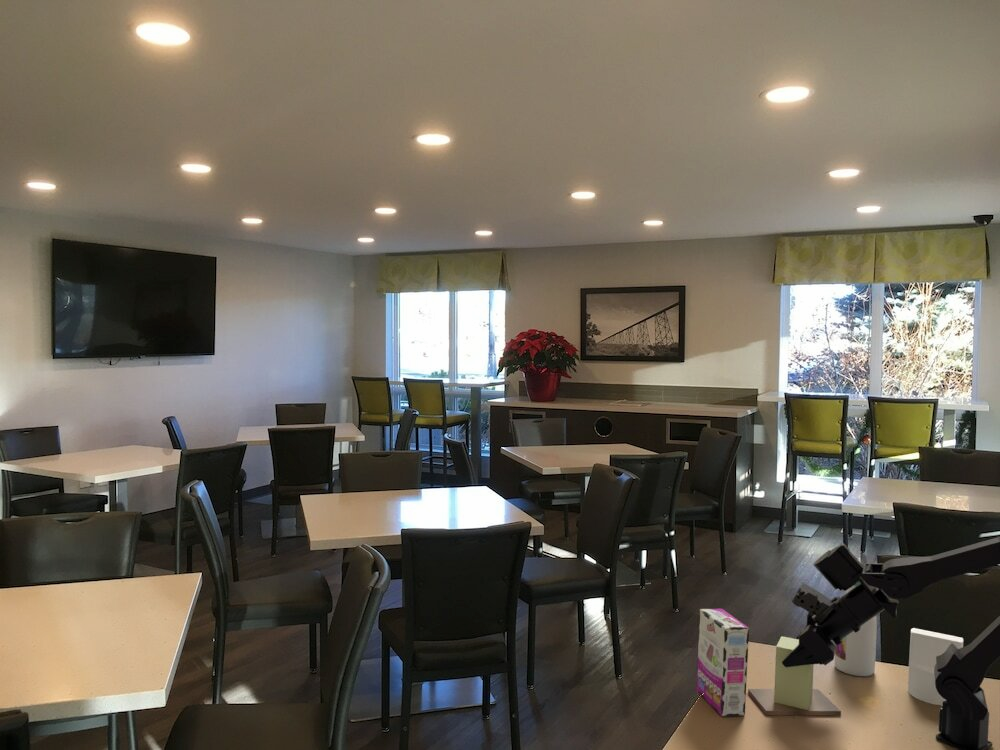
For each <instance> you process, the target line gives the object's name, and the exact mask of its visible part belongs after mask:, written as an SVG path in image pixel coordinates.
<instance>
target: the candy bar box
mask: <svg viewBox="0 0 1000 750" xmlns="http://www.w3.org/2000/svg"><path fill="white" fill-rule="evenodd" d="M749 635H750V627H748V626H747V625H746V624H744V623H743V622H742V621H740V620H739V619H738V618H736V617H734V616H733V615H731V614H730V613H729V612H727V611H726V610H725V609H723V608H700V609H699V627H698V645H697V646H698V649H697V666H696V668H697V671H696V673H697V674H696V692H697V693H698V694H699V695H700V696H701V695H702V694H703V693H704V694H703V695H702V696H701V697H702V698H703V697H704V698H703V699H704V700H705V701H706V702H707V703H708V705H710V706H711V707H712V708H713V709H714V710H715V712H717V713H718V715H720V716H721V717H723V718H725V717H741V716H743V717H744V716H745V715H746V703H747V702H746V701H747V700H746V699H747V679H748V659H749V642H750V641H749V638H750V636H749Z"/></svg>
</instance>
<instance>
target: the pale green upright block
mask: <svg viewBox="0 0 1000 750" xmlns="http://www.w3.org/2000/svg"><path fill="white" fill-rule="evenodd" d="M798 644H799V640H798V639H795V638H793V637H788V636H780V639H779V641H777V644H776V647H775V663H774V664H775V667H774V668H775V669H774V670H775V671H774V688H773V689H774V702H776V703H780V704H784V705H789V706H793V707H797V708H801V709H806V710H808V709H809V705H810V702H811V699H812V690H813V689H814V687H813V685H814V684H813V683H814V667H815V666H814V665H815V664H811V665H801V666H793V667H785V666H784V665H783V664H782V661H783V660H784V659H785V658H786V657H787V656H788V655H789V654H790V653H791V652H792V651H793V650H794V648H795V647H796V646H797V645H798Z"/></svg>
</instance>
